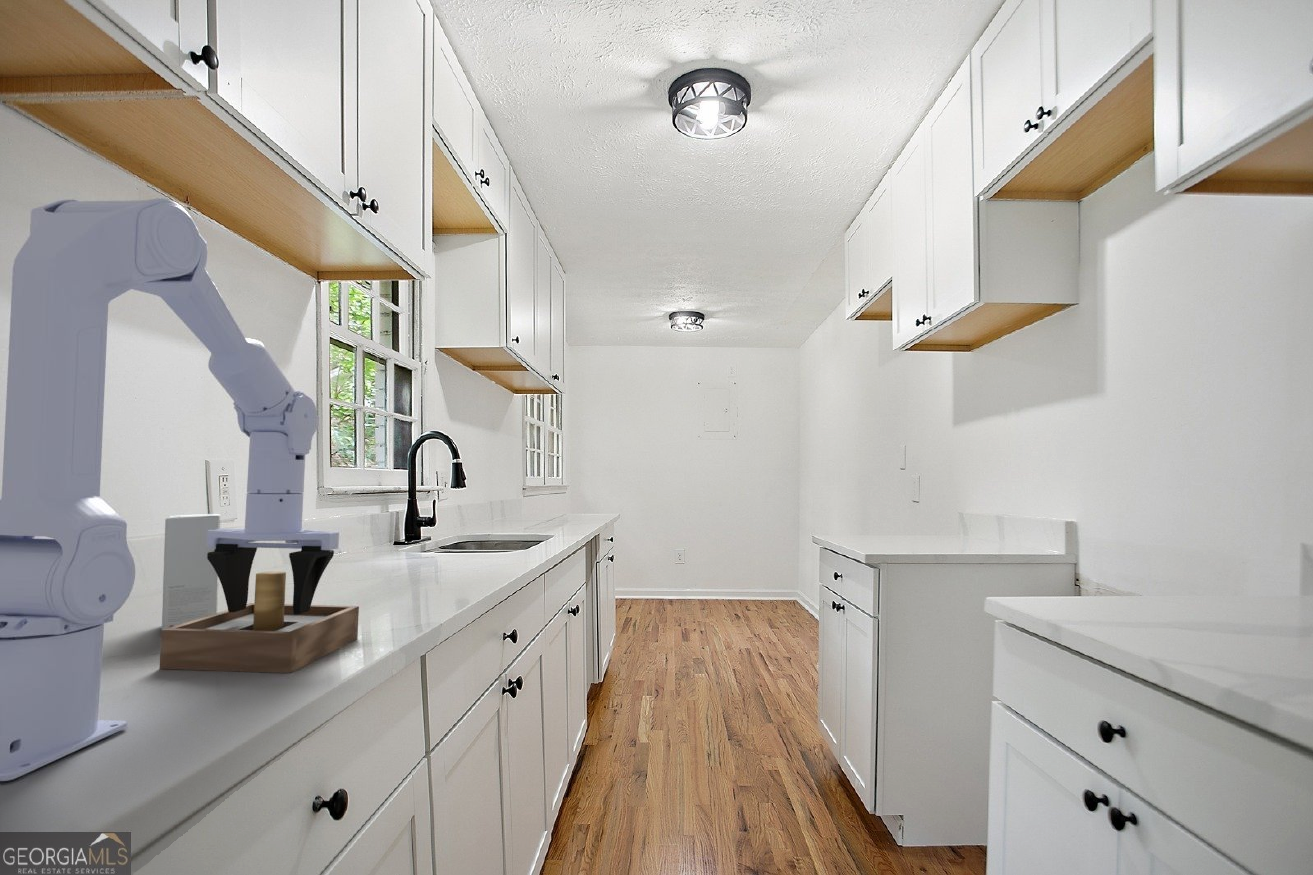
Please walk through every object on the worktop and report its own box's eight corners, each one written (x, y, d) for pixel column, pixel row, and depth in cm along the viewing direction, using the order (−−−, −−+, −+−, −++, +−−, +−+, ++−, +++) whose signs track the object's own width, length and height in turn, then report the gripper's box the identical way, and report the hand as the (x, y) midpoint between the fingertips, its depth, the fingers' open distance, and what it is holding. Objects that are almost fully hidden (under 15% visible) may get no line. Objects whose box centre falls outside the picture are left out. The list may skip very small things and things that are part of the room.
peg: (273, 647, 73) (276, 575, 73) (246, 646, 73) (250, 575, 73) (288, 640, 76) (291, 571, 76) (262, 640, 76) (265, 571, 76)
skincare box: (216, 631, 83) (222, 515, 84) (157, 637, 80) (164, 516, 81) (217, 618, 90) (223, 511, 91) (163, 623, 87) (169, 512, 88)
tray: (290, 672, 67) (292, 633, 67) (159, 668, 68) (161, 629, 68) (357, 638, 81) (358, 606, 81) (248, 635, 82) (250, 603, 82)
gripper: (354, 493, 79) (348, 606, 78) (238, 491, 80) (232, 602, 79) (322, 495, 72) (316, 619, 71) (195, 492, 73) (188, 615, 72)
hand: (269, 611), depth 75 cm, fingers open, 7 cm apart
